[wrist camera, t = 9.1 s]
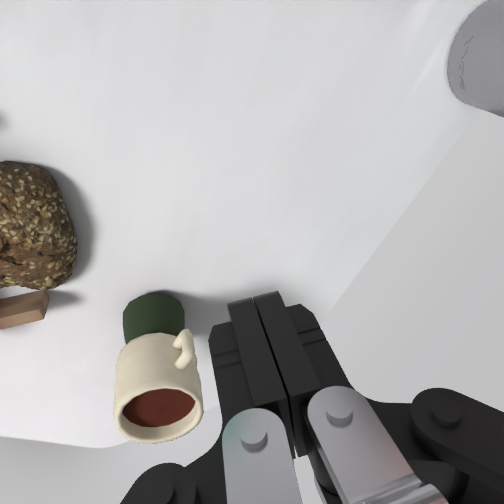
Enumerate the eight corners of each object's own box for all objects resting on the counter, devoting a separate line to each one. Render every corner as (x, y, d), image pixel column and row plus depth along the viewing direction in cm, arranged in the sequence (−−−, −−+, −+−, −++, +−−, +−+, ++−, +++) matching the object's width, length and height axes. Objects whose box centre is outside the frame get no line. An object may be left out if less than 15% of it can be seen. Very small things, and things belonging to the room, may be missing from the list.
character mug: (158, 357, 48) (166, 464, 37) (97, 339, 45) (86, 450, 34) (209, 286, 44) (234, 381, 34) (148, 260, 41) (153, 357, 30)
